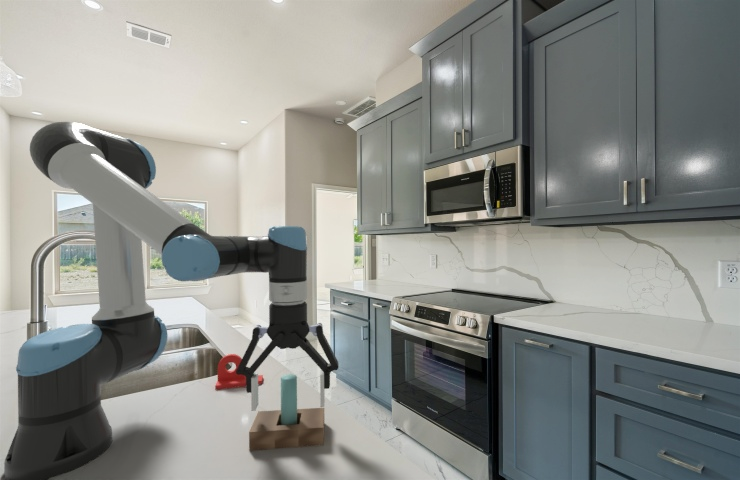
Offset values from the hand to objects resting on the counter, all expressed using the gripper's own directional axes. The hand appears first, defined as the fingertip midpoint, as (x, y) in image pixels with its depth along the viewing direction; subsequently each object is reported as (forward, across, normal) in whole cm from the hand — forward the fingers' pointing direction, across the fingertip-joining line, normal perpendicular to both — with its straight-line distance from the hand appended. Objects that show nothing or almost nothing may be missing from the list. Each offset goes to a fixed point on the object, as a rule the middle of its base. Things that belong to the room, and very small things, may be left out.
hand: (289, 405), depth 71 cm
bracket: (+7, -17, +28) cm, 34 cm away
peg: (+6, 0, 0) cm, 6 cm away
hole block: (+6, 0, 0) cm, 6 cm away
